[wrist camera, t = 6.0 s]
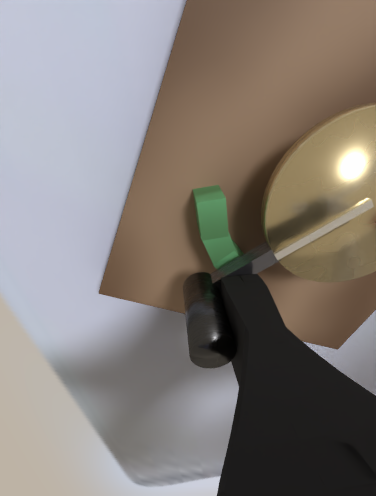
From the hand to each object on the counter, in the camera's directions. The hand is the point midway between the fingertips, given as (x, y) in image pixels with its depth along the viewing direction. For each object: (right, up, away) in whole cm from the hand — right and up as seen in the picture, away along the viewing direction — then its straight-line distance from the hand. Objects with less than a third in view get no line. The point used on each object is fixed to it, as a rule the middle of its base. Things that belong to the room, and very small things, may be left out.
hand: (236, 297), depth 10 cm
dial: (+2, +2, 0) cm, 3 cm away
